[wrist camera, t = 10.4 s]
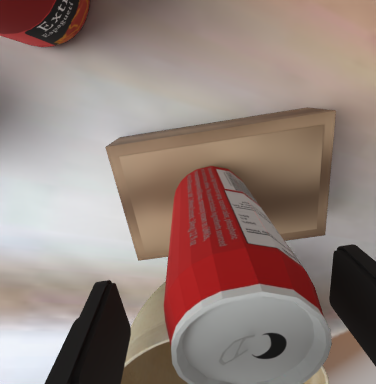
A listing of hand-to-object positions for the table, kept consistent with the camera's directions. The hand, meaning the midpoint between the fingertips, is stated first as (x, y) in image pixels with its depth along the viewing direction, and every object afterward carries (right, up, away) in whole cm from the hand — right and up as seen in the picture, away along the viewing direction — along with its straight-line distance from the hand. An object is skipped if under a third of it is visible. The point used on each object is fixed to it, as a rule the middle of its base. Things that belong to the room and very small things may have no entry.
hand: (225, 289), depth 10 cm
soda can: (0, +4, +8) cm, 9 cm away
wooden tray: (+1, +5, +12) cm, 13 cm away
